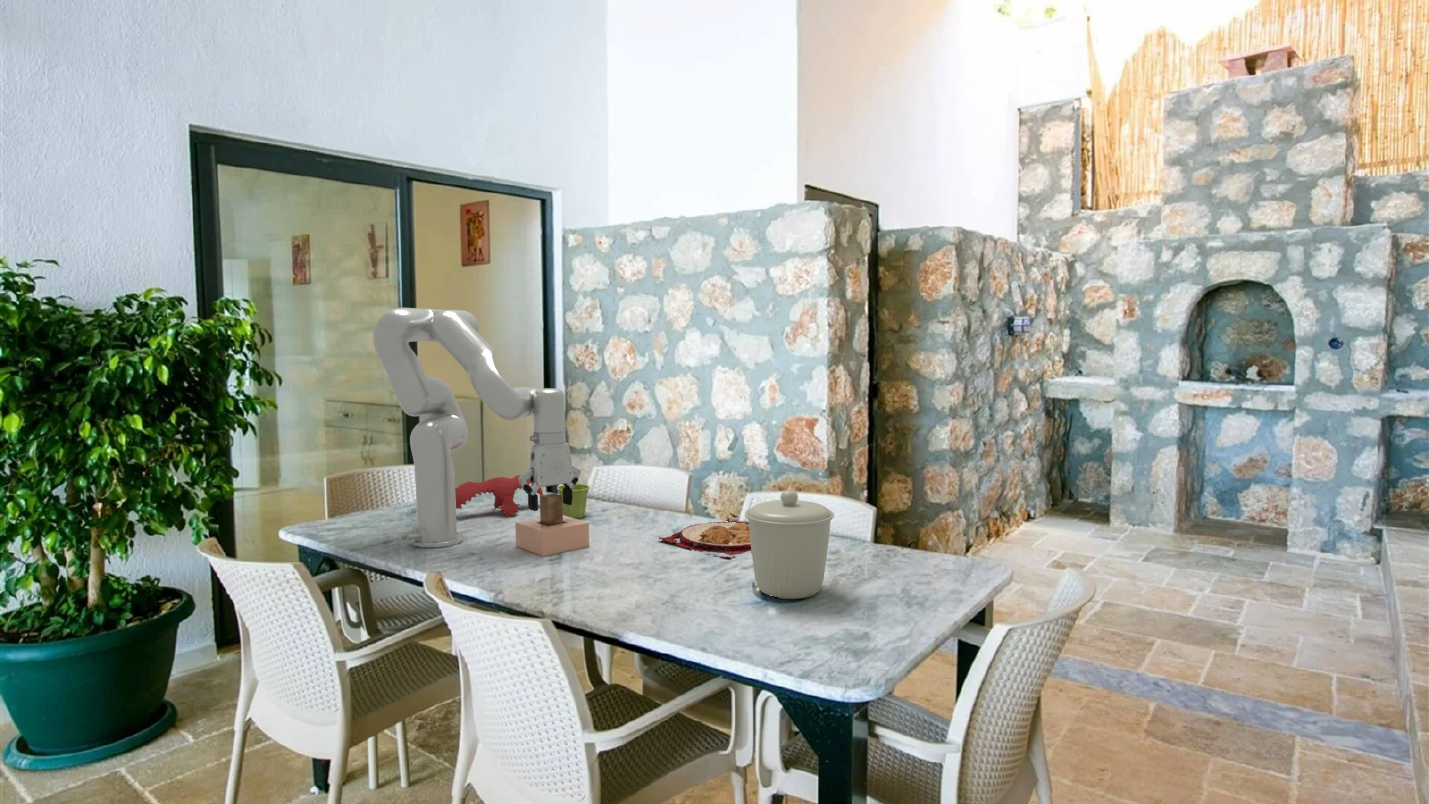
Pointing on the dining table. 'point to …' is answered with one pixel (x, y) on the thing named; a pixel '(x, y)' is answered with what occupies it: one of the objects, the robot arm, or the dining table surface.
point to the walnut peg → (551, 509)
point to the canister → (789, 545)
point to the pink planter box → (552, 536)
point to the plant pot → (576, 501)
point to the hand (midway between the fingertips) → (550, 507)
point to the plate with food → (715, 537)
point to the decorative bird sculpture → (499, 488)
